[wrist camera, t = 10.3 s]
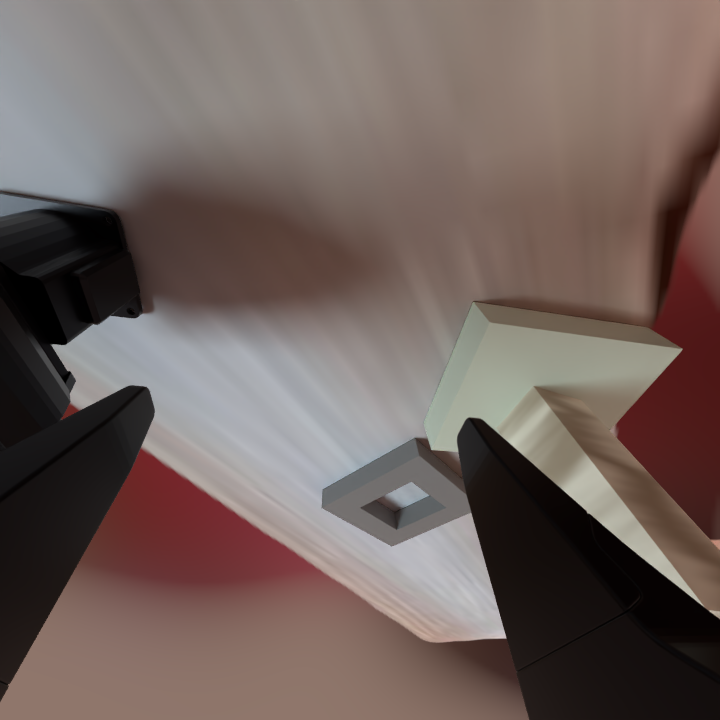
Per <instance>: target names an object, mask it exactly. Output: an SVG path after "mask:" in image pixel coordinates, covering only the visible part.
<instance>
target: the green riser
mask: <svg viewBox="0 0 720 720" xmlns="http://www.w3.org/2000/svg"><path fill="white" fill-rule="evenodd" d="M682 350H683V349H682V348H680V347H679V346H677V345H675V344H674V343H672V342H670V341H669V340H667V339H665V338H664V337H662V336H660V335H659V334H658V333H656V332H654V331H653V330H651V329H649V328H648V327H642V326H635V325H628V324H622V323H615V322H608V321H601V320H594V319H588V318H581V317H574V316H567V315H560V314H554V313H547V312H540V311H533V310H526V309H520V308H513V307H506V306H499V305H492V304H485V303H479V302H473V303H472V306H471V308H470V311H469V313H468V315H467V318H466V320H465V323H464V325H463V328H462V330H461V333H460V335H459V337H458V340H457V342H456V345H455V347H454V350H453V352H452V355H451V357H450V359H449V362H448V364H447V367H446V369H445V372H444V374H443V377H442V379H441V381H440V384H439V386H438V389H437V391H436V394H435V396H434V399H433V401H432V403H431V406H430V408H429V411H428V413H427V416H426V418H425V421H424V426H425V430H426V433H427V437H428V440H429V444H430V447H431V450H439V451H452V452H458V446H457V436H458V433H459V431H460V429H461V427H462V426H463V424H464V422H465V420H466V419H467V418H468V417H473V418H481V419H482V420H484V421H485V422H486V423H487V424H488V425H489V426H491V427H492V428H493V429H494V430H495V431H496V432H497V433H498V434H500V433H499V431H498V429H497V427H498V426H499V425H500V424H501V422H502V421H503V420H504V419H505V418H506V417H507V415H508V414H509V413H510V412H511V411H512V410H513V409H514V407H515V406H516V405H517V404H518V403H519V402H520V401H521V399H522V398H523V397H524V396H525V395H526V394H527V393H528V391H529V390H530V389H531V388H532V387H533V386H535V387H538V388H542V389H545V390H548V391H552V392H555V393H559V394H562V395H565V396H569V397H572V398H576V399H579V400H582V401H583V402H584V403H585V404H586V405H587V407H588V408H589V409H590V410H591V411H592V412H593V413H594V414H595V415H596V416H597V417H598V419H599V420H600V421H601V422H602V423H603V424H604V425H605V426H606V427H607V428H608V429H609V430H610V429H611V428H612V427H613V426H614V425H615V424H616V423H617V422H618V421H619V419H620V418H621V417H622V416H623V415H624V414H625V412H627V411H628V409H629V408H630V407H631V406H632V405H633V404H634V403H635V402H636V401H637V400H638V398H639V397H640V396H641V395H642V394H643V393H644V392H645V390H647V389H648V387H649V386H650V385H651V384H652V383H653V382H654V381H655V379H657V377H658V376H659V375H660V374H661V373H662V372H663V371H664V370H665V369H666V367H667V366H668V365H669V364H670V363H671V362H672V361H673V360H674V359H675V358H676V356H677V355H678V354H679V353H680V352H681V351H682Z"/></svg>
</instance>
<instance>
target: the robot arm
mask: <svg viewBox="0 0 720 720" xmlns="http://www.w3.org/2000/svg"><path fill="white" fill-rule="evenodd" d="M106 216H107V217H109V218H110V219H111V221H112V224H111V223H109V222H108V221H107V220H106ZM139 293H140V290H139V285H138V281H137V277H136V273H135V269H134V265H133V261H132V256H131V254H130V252H129V251H128V248H127V244H126V240H125V236H124V232H123V228H122V224H121V220H120V218H119V216H118V215H117V214H116V213H115V212H113V211H111V210H109V209H103V208H96V207H90V206H84V205H78V204H72V203H66V202H60V201H53V200H47V199H41V198H35V197H29V196H23V195H16V194H10V193H4V192H0V701H1V700H2V698H3V696H4V694H5V692H6V690H7V689H8V687H9V686H8V684H10V683H11V681H12V679H13V678H14V676H15V674H16V672H17V671H18V669H19V667H20V665H21V664H22V662H23V660H24V658H25V657H26V655H27V653H28V651H29V649H30V647H31V646H32V644H33V642H34V641H35V639H36V637H37V635H38V634H39V632H40V630H41V628H42V627H43V624H44V623H45V621H46V619H47V618H48V616H49V614H50V612H51V611H52V609H53V607H54V605H55V603H56V602H57V600H58V598H59V596H60V595H61V593H62V591H63V589H64V588H65V586H66V584H67V582H68V581H69V579H70V577H71V575H72V574H73V572H74V570H75V568H76V567H77V564H78V563H79V561H80V559H81V557H82V556H83V554H84V552H85V551H86V549H87V547H88V545H89V543H90V542H91V540H92V538H93V536H94V534H95V533H96V531H97V529H98V528H99V526H100V524H101V522H102V521H103V519H104V517H105V515H106V513H107V512H108V510H109V508H110V506H111V505H112V503H113V501H114V499H115V498H116V496H117V494H118V492H119V491H120V489H121V487H122V485H123V483H124V482H125V480H126V478H127V476H128V474H129V473H130V471H131V469H132V467H133V464H134V462H135V460H136V457H137V455H138V453H139V451H140V448H141V446H142V444H143V441H144V439H145V436H146V434H147V432H148V429H149V427H150V425H151V422H152V420H153V417H154V413H155V409H154V405H153V401H152V398H151V394H150V391H149V389H148V388H147V387H144V386H134V385H131V386H127V387H125V388H123V389H121V390H119V391H117V392H115V393H113V394H111V395H110V396H108V397H106V398H104V399H102V400H100V401H98V402H96V403H94V404H92V405H90V406H88V407H86V408H84V409H82V410H80V411H78V412H76V413H74V414H73V415H71V416H69V417H67V418H65V419H63V420H61V418H62V417H63V415H64V413H65V411H66V409H67V407H68V405H69V403H70V392H71V390H72V388H73V386H74V384H75V382H76V380H75V378H74V376H73V375H72V373H71V372H70V371H67V370H66V368H65V367H64V365H63V363H62V362H61V360H60V359H59V357H58V355H57V354H56V352H55V351H54V349H53V347H52V346H51V345H52V344H58V345H66V344H67V343H69V342H70V341H71V340H73V339H74V338H75V337H77V336H78V335H79V334H81V333H82V332H83V331H85V330H86V329H87V328H89V327H90V326H91V325H93V324H95V325H98V324H100V323H101V322H103V321H104V320H105V319H107V318H108V317H109V316H118V317H126V318H137V317H139V316H140V315H141V314H142V306H141V302H140V298H139ZM130 308H132V309H133V310H134V311H135V312H133V311H132V310H131V309H130ZM457 446H458V452H459V458H460V464H461V470H462V476H463V482H464V487H465V491H466V495H467V499H468V503H469V506H470V510H471V513H472V517H473V520H474V524H475V527H476V531H477V535H478V538H479V542H480V545H481V549H482V552H483V556H484V559H485V563H486V567H487V570H488V574H489V577H490V581H491V584H492V588H493V591H494V595H495V599H496V602H497V606H498V609H499V613H500V616H501V620H502V623H503V627H504V631H505V634H506V638H507V641H508V645H509V648H510V652H511V655H512V659H513V663H514V666H515V670H516V671H517V673H516V674H517V678H518V681H519V685H520V688H521V692H522V695H523V699H524V702H525V706H526V710H527V713H528V717H529V720H720V619H719V618H718V617H716V616H715V615H714V614H713V613H711V612H710V611H709V610H707V609H706V608H705V607H703V606H702V605H701V604H700V603H698V602H697V601H696V600H695V599H693V598H692V597H691V596H690V595H688V594H687V593H686V592H685V591H683V590H682V589H681V588H679V587H678V586H677V585H676V584H674V583H673V582H672V581H671V580H669V579H668V578H667V577H666V576H664V575H663V574H662V573H660V572H659V571H658V570H657V569H655V568H654V567H653V566H652V565H650V564H649V563H648V562H647V561H645V560H644V559H643V558H642V557H640V556H639V555H638V554H637V553H636V552H634V551H633V550H632V549H631V548H629V547H628V546H627V545H626V544H624V543H623V542H622V541H621V540H620V539H619V538H617V537H616V536H615V535H614V534H613V533H612V532H610V531H609V530H608V529H607V528H606V527H604V526H603V525H602V524H601V523H600V522H599V521H598V520H597V519H595V518H594V517H593V516H592V515H591V514H589V513H587V511H586V510H585V509H584V508H583V507H582V506H580V505H579V504H578V503H577V502H576V501H575V500H574V499H573V498H571V497H570V496H569V495H568V494H567V493H566V492H565V491H563V490H562V489H561V488H560V487H559V486H558V485H557V484H555V483H554V482H553V481H552V480H551V479H550V478H549V477H547V476H546V475H545V474H544V473H543V472H542V471H541V470H539V469H538V468H537V467H536V466H535V465H534V464H533V463H532V462H530V461H529V460H528V459H527V458H526V457H525V456H524V455H522V454H521V453H520V452H519V451H518V450H517V449H516V448H514V447H513V446H512V445H511V444H510V443H509V442H508V441H506V440H505V439H504V438H503V437H502V436H501V435H500V434H498V433H497V432H496V431H495V430H494V429H493V428H492V427H491V426H489V425H488V424H487V423H486V422H485V421H484V420H482V419H481V418H473V417H468V418H467V419H466V420H465V422H464V424H463V426H462V427H461V429H460V431H459V433H458V436H457Z"/></svg>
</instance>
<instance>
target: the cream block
mask: <svg viewBox="0 0 720 720" xmlns="http://www.w3.org/2000/svg"><path fill="white" fill-rule="evenodd" d="M497 429H498V431H499V433H500V435H501V436H502V437H503V438H504V439H505V440H506V441H508V442H509V443H510V444H511V445H512V446H513V447H514V448H516V449H517V450H518V451H519V452H520V453H521V454H522V455H524V456H525V457H526V458H527V459H528V460H529V461H530V462H532V463H533V464H534V465H535V466H536V467H537V468H538V469H539V470H541V471H542V472H543V473H544V474H545V475H546V476H547V477H549V478H550V479H551V480H552V481H553V482H554V483H555V484H557V485H558V486H559V487H560V488H561V489H562V490H563V491H565V492H566V493H567V494H568V495H569V496H570V497H571V498H573V499H574V500H575V501H576V502H577V503H578V504H579V505H580V506H582V507H583V508H584V509H585V510H586V511H587V513H589V514H591V515H592V516H593V517H594V518H595V519H597V520H598V521H599V522H600V523H601V524H602V525H603V526H604V527H606V528H607V529H608V530H609V531H610V532H612V533H613V534H614V535H615V536H616V537H617V538H619V539H620V540H621V541H622V542H623V543H624V544H626V545H627V546H628V547H629V548H631V549H632V550H633V551H634V552H636V553H637V554H638V555H639V556H640V557H642V558H643V559H644V560H645V561H647V562H648V563H649V564H650V565H652V566H653V567H654V568H655V569H657V570H658V571H659V572H660V573H662V574H663V575H664V576H666V577H667V578H668V579H669V580H671V581H672V582H673V583H674V584H676V585H677V586H678V587H679V588H681V589H682V590H683V591H685V592H686V593H687V594H688V595H690V596H691V597H692V598H693V599H695V600H696V601H697V602H698V603H700V604H701V605H702V606H703V607H705V608H706V609H707V610H709V611H710V612H711V613H713V614H714V615H715V616H716V617H718V618H719V619H720V550H719V549H718V548H717V547H716V546H715V545H714V544H713V543H712V542H711V540H710V539H709V538H708V537H707V536H706V535H705V534H704V533H703V532H702V531H701V530H700V528H699V527H698V526H697V525H696V524H695V523H694V522H693V521H692V520H691V519H690V518H689V517H688V515H687V514H686V513H685V512H684V511H683V510H682V509H681V508H680V507H679V506H678V505H677V504H676V502H674V500H673V499H672V498H671V497H670V496H669V495H668V494H667V493H666V492H665V490H664V489H663V488H662V487H661V486H660V485H659V484H658V483H657V482H656V481H655V480H654V478H653V477H652V476H651V475H650V474H649V473H648V472H647V471H646V470H645V469H644V468H643V466H642V465H641V464H640V463H639V462H638V461H637V460H636V459H635V458H634V457H633V456H632V454H631V453H630V452H629V451H628V450H627V449H626V448H625V447H624V446H623V445H622V444H621V443H620V441H619V440H618V439H617V438H616V437H615V436H614V435H613V434H612V433H611V432H610V431H609V429H608V428H607V427H606V426H605V425H604V424H603V423H602V422H601V421H600V420H599V419H598V417H597V416H596V415H595V414H594V413H593V412H592V411H591V410H590V409H589V408H588V407H587V405H586V404H585V403H584V402H583V401H582V400H579V399H576V398H572V397H569V396H565V395H562V394H559V393H555V392H552V391H548V390H545V389H542V388H538V387H535V386H533V387H532V388H531V389H530V390H529V391H528V393H527V394H526V395H525V396H524V397H523V398H522V399H521V401H520V402H519V403H518V404H517V405H516V406H515V407H514V409H513V410H512V411H511V412H510V413H509V414H508V415H507V417H506V418H505V419H504V420H503V421H502V422H501V424H500V425H499V426H498V427H497Z"/></svg>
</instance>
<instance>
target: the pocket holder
mask: <svg viewBox="0 0 720 720" xmlns="http://www.w3.org/2000/svg"><path fill="white" fill-rule="evenodd" d="M410 482H413V483H414V484H415V485H417V486H418V487H419V488H421V489H422V490H423V491H425V492H426V493H427V494H429V495H430V496H429V497H426V498H424V499H422V500H420V501H418V502H416V503H414V504H412V505H410V506H408V507H405V508H403V509H401V510H399V511H397V512H395V513H394V512H392V511H391V510H389V509H388V508H386V507H385V506H383V505H381V504H380V503H378V502H377V501H375V500H376V499H378V498H380V497H382V496H384V495H386V494H388V493H390V492H392V491H394V490H396V489H398V488H400V487H402V486H404V485H406V484H408V483H410ZM322 508H323V509H325V510H326V511H328V512H330V513H332V514H334V515H336V516H337V517H339V518H341V519H343V520H345V521H346V522H348V523H350V524H352V525H354V526H356V527H357V528H359V529H361V530H363V531H365V532H367V533H368V534H370V535H372V536H374V537H376V538H377V539H379V540H381V541H383V542H385V543H387V544H388V545H390V546H394V545H397V544H399V543H401V542H403V541H406V540H408V539H410V538H413V537H415V536H417V535H420V534H422V533H424V532H427V531H429V530H431V529H434V528H436V527H438V526H441V525H443V524H445V523H447V522H450V521H452V520H454V519H457V518H459V517H461V516H464V515H466V514H468V513H471V510H470V506H469V503H468V499H467V495H466V491H465V487H464V482H463V479H461V478H460V477H459V476H458V475H457V474H456V473H455V472H453V471H452V470H451V469H450V468H449V467H448V466H447V465H445V464H444V463H443V462H442V461H441V460H440V459H438V458H437V457H436V456H435V455H434V454H433V453H432V452H430V451H429V450H428V449H427V448H426V447H425V446H424V445H422V444H421V443H420V442H419V441H418V440H417V439H415V438H414V439H412V440H410V441H409V442H407V443H405V444H403V445H402V446H400V447H398V448H396V449H394V450H393V451H391V452H389V453H387V454H386V455H384V456H382V457H380V458H378V459H377V460H375V461H373V462H371V463H370V464H368V465H366V466H364V467H362V468H361V469H359V470H357V471H355V472H354V473H352V474H350V475H348V476H346V477H345V478H343V479H341V480H339V481H338V482H336V483H334V484H332V485H330V486H329V487H327V488H325V489H323V492H322Z"/></svg>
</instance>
